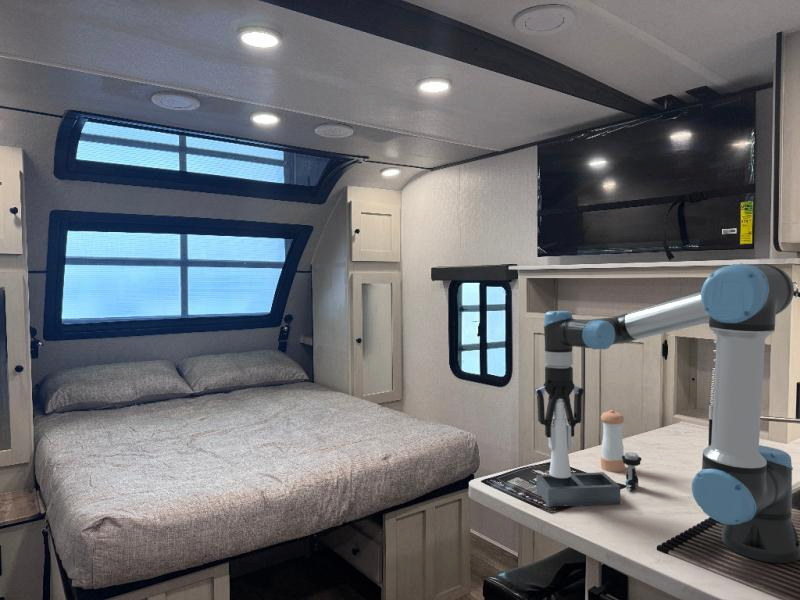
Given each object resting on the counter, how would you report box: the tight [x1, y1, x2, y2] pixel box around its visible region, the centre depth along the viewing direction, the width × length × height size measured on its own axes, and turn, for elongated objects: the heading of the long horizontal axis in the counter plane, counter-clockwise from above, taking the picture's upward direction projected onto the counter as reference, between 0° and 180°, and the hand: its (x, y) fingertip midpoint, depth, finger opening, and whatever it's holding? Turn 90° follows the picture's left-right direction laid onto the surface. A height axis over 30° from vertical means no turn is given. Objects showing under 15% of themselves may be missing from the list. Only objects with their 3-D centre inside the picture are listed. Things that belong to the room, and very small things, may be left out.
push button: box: [622, 452, 642, 491], centre depth 159 cm, size 7×5×10 cm
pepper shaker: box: [600, 409, 626, 473], centre depth 176 cm, size 7×7×19 cm
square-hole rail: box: [535, 471, 621, 508], centre depth 154 cm, size 20×11×5 cm, turn 92°
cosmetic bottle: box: [548, 399, 572, 478], centre depth 153 cm, size 6×6×22 cm
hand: (559, 447), depth 153 cm, fingers closed on cosmetic bottle, 4 cm apart
